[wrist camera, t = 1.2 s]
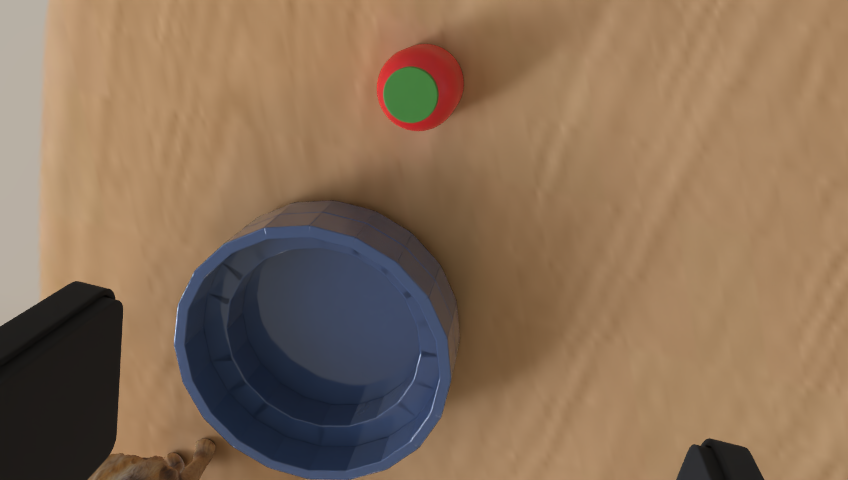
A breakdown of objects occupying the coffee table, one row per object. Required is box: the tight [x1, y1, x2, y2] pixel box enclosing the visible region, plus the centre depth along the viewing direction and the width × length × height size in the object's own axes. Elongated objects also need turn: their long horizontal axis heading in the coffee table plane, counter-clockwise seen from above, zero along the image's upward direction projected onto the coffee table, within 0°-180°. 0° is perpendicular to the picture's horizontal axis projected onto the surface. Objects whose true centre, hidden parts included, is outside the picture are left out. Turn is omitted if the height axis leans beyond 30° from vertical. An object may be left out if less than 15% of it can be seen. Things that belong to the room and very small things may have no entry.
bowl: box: [174, 200, 460, 480], centre depth 37 cm, size 14×14×5 cm
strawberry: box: [377, 44, 464, 131], centre depth 32 cm, size 4×4×5 cm
